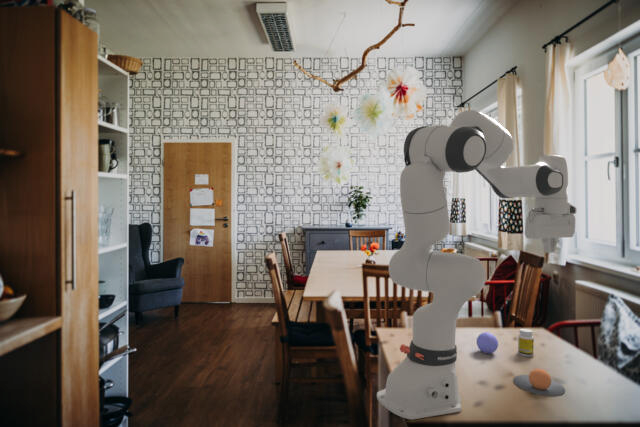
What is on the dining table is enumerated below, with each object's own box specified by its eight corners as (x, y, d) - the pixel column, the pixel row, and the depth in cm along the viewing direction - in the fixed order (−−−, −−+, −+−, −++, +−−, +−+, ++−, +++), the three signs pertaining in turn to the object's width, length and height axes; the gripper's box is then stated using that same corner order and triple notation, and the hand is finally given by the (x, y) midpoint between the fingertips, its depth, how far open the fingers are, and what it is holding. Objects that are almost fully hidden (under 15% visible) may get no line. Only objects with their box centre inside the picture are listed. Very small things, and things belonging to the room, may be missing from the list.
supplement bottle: (535, 357, 134) (535, 332, 134) (520, 356, 135) (520, 331, 135) (530, 352, 139) (531, 328, 139) (516, 351, 140) (516, 327, 140)
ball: (544, 389, 107) (546, 368, 108) (523, 384, 111) (526, 364, 113) (553, 394, 109) (555, 373, 111) (533, 389, 114) (535, 369, 115)
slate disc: (546, 400, 105) (546, 399, 105) (503, 380, 116) (503, 380, 116) (574, 389, 111) (575, 389, 111) (531, 372, 122) (531, 371, 122)
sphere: (493, 349, 141) (494, 330, 141) (500, 357, 134) (501, 336, 134) (473, 348, 142) (474, 329, 142) (479, 356, 135) (480, 335, 135)
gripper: (539, 208, 115) (538, 255, 115) (579, 208, 124) (578, 252, 125) (519, 207, 120) (518, 253, 121) (559, 208, 130) (558, 250, 130)
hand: (549, 252), depth 123 cm, fingers closed
